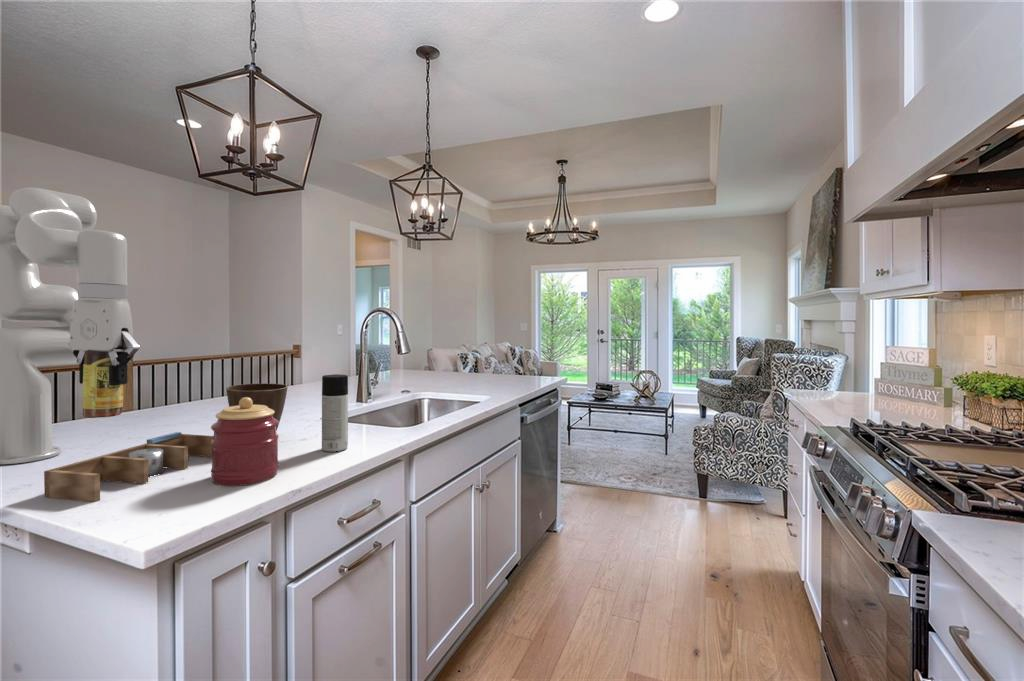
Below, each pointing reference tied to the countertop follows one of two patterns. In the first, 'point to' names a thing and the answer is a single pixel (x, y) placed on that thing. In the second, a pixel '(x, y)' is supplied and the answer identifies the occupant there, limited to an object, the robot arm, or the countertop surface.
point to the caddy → (121, 466)
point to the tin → (151, 459)
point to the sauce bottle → (100, 387)
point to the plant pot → (260, 396)
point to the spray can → (334, 412)
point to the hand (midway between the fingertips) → (103, 383)
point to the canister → (244, 444)
